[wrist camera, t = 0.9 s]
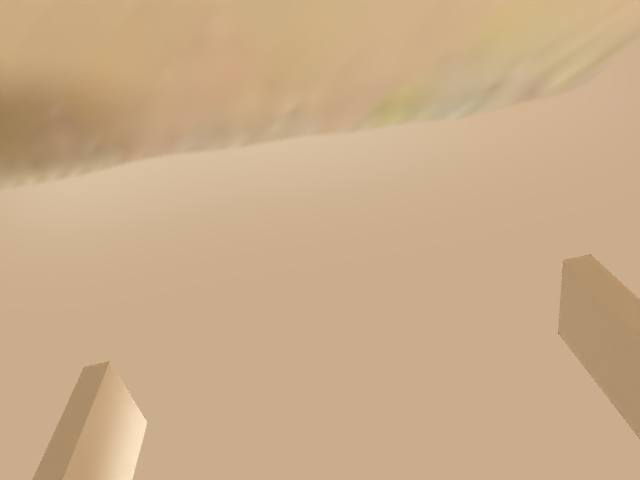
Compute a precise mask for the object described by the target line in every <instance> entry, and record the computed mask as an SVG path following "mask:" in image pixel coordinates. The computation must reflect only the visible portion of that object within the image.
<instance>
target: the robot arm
mask: <svg viewBox="0 0 640 480" xmlns="http://www.w3.org/2000/svg"><path fill="white" fill-rule="evenodd" d="M558 334H559V335H560V336H561V337H562V339H563V340H564V341H565V343H566V344H567V345H568V347H570V349H571V350H572V352H573V353H574V354H575V356H576V357H577V358H578V359H579V361H580V362H581V363H582V365H583V366H584V367H585V369H586V370H587V371H588V372H589V374H590V375H591V376H592V378H593V379H594V380H595V381H596V383H597V384H598V385H599V387H600V388H601V389H602V391H603V392H604V393H605V394H606V396H607V397H608V398H609V400H610V401H611V402H612V404H613V405H614V406H615V407H616V409H617V410H618V411H619V413H620V414H621V415H622V416H623V418H624V419H625V420H626V422H627V423H628V424H629V426H630V427H631V428H632V429H633V431H634V432H635V433H636V435H637V436H638V437H639V438H640V300H639V298H637V297H636V296H635V295H634V294H633V293H632V292H631V291H630V290H629V289H627V287H625V286H624V285H623V284H622V283H621V282H620V281H619V280H618V279H617V278H616V277H615V276H613V275H612V274H611V273H610V272H609V271H608V270H607V269H606V268H605V267H604V266H603V265H601V264H600V263H599V262H598V261H597V260H596V259H595V258H594V257H593V256H592V255H590V254H589V255H585V256H581V257H577V258H572V259H567V260H563V270H562V285H561V299H560V313H559V328H558ZM146 426H147V422H146V420H145V418H144V417H143V415H142V413H141V412H140V410H139V409H138V407H137V405H136V404H135V402H134V400H133V399H132V397H131V395H130V394H129V392H128V391H127V389H126V387H125V386H124V384H123V382H122V381H121V379H120V378H119V376H118V374H117V372H116V371H115V369H114V368H113V366H112V364H111V363H110V362H105V363H100V364H96V365H91V366H87V367H84V368H83V371H82V373H81V375H80V377H79V379H78V382H77V384H76V386H75V388H74V390H73V393H72V395H71V397H70V399H69V401H68V403H67V406H66V408H65V410H64V412H63V414H62V417H61V419H60V421H59V423H58V425H57V427H56V430H55V432H54V434H53V436H52V439H51V441H50V443H49V445H48V447H47V450H46V451H45V454H44V456H43V458H42V460H41V462H40V465H39V467H38V469H37V471H36V473H35V476H34V478H33V480H132V478H133V475H134V471H135V467H136V463H137V460H138V456H139V452H140V448H141V444H142V441H143V437H144V433H145V429H146Z"/></svg>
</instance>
